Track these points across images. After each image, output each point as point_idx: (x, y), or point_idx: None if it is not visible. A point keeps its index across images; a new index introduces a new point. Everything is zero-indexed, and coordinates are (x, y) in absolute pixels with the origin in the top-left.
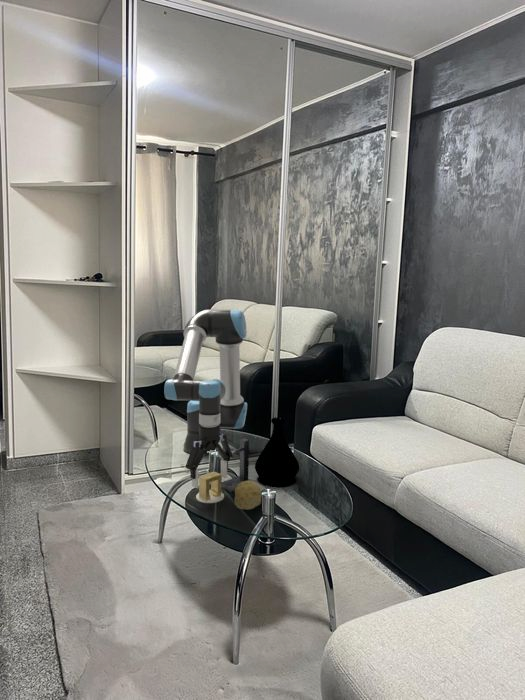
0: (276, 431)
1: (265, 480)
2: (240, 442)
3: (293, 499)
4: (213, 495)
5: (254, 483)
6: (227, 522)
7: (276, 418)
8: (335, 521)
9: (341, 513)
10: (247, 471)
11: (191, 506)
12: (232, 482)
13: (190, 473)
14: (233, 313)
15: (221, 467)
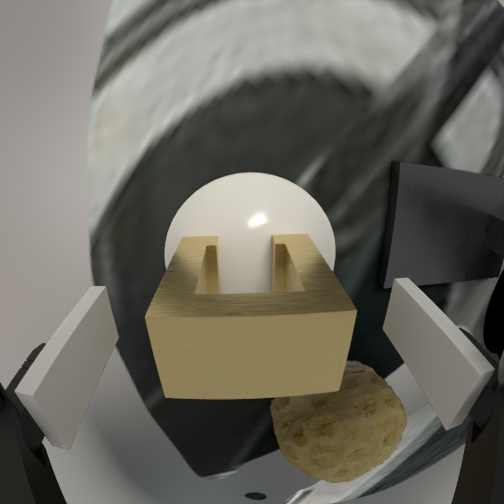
0: None
1: (501, 323)
2: None
3: (429, 420)
4: (270, 270)
5: (372, 466)
6: (169, 437)
7: None
8: (366, 493)
9: (403, 478)
10: None
11: (106, 279)
12: (454, 216)
13: (17, 374)
14: None
15: (432, 333)
